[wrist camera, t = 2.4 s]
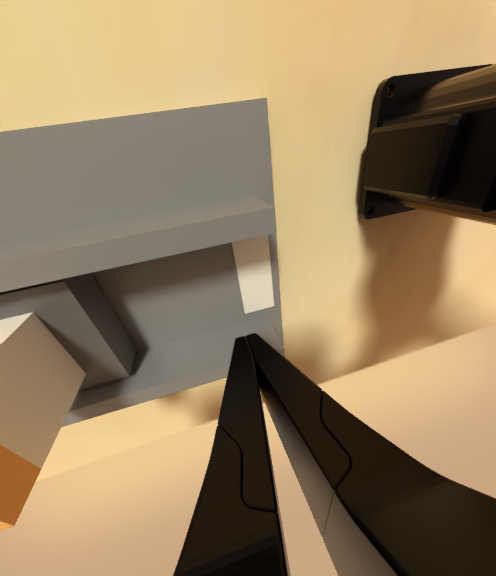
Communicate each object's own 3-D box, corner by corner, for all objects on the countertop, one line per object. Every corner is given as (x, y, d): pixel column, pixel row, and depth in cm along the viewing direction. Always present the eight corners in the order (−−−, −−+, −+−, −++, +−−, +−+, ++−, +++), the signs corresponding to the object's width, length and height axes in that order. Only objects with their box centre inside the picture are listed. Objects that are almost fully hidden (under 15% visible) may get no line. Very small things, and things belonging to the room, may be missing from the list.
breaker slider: (84, 261, 10) (-80, 422, 4) (136, 348, 13) (93, 513, 7) (-38, 286, 9) (-469, 530, 3) (49, 372, 13) (-84, 576, 6)
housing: (259, 103, 10) (298, 73, 6) (279, 347, 18) (300, 390, 15) (-501, 202, 6) (-1235, 248, 3) (-44, 441, 15) (-111, 522, 12)
